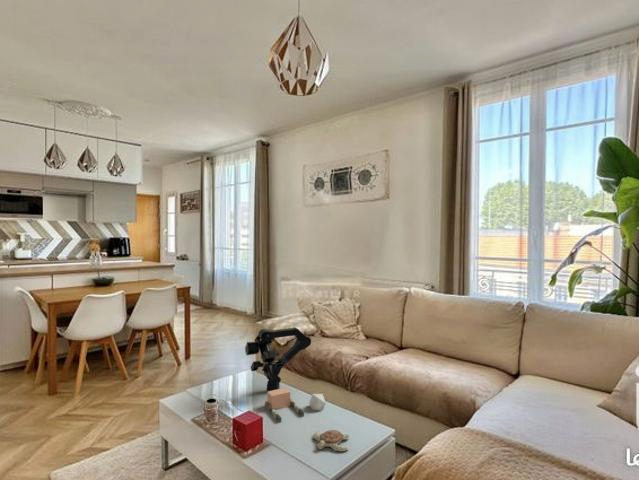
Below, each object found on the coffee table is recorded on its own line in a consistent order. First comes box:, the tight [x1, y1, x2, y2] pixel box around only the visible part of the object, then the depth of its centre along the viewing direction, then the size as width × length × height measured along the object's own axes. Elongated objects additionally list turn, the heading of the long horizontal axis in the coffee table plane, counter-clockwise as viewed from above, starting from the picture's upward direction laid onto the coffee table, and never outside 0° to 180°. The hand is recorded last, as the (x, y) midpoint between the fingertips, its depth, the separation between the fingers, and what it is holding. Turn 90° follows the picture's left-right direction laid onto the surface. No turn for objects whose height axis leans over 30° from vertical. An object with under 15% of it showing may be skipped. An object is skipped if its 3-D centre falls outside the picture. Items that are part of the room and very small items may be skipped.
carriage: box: [266, 387, 291, 411], centre depth 188 cm, size 6×10×7 cm, turn 119°
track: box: [264, 398, 305, 424], centre depth 182 cm, size 19×13×4 cm
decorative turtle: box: [312, 429, 350, 452], centre depth 157 cm, size 18×17×5 cm
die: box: [308, 393, 327, 411], centre depth 186 cm, size 8×9×10 cm
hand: (272, 379), depth 194 cm, fingers closed
